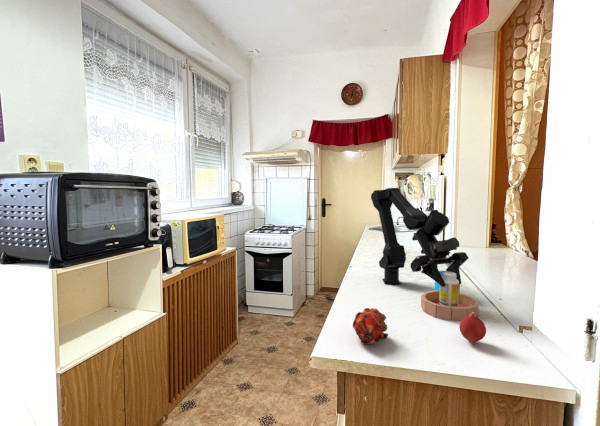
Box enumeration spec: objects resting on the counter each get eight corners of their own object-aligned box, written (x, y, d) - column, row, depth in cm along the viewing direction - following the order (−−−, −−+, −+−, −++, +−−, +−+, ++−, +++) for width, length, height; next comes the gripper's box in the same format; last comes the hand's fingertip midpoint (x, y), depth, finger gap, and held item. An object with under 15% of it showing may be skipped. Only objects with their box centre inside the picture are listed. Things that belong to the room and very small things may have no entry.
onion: (454, 338, 82) (455, 308, 82) (475, 337, 83) (476, 307, 82) (468, 349, 76) (468, 317, 76) (490, 348, 77) (491, 315, 76)
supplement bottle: (458, 303, 102) (459, 271, 101) (458, 309, 97) (459, 276, 96) (439, 300, 104) (440, 270, 103) (438, 306, 99) (439, 274, 98)
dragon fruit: (374, 334, 88) (371, 363, 77) (349, 315, 89) (342, 341, 78) (393, 314, 85) (392, 340, 74) (367, 294, 86) (362, 318, 75)
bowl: (415, 301, 109) (416, 290, 109) (464, 302, 107) (465, 290, 107) (430, 320, 93) (430, 307, 93) (488, 322, 92) (488, 308, 91)
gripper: (416, 230, 99) (440, 274, 90) (465, 227, 105) (492, 269, 95) (401, 250, 108) (421, 293, 98) (447, 247, 113) (470, 286, 103)
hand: (452, 285), depth 98 cm, fingers closed on supplement bottle, 6 cm apart
